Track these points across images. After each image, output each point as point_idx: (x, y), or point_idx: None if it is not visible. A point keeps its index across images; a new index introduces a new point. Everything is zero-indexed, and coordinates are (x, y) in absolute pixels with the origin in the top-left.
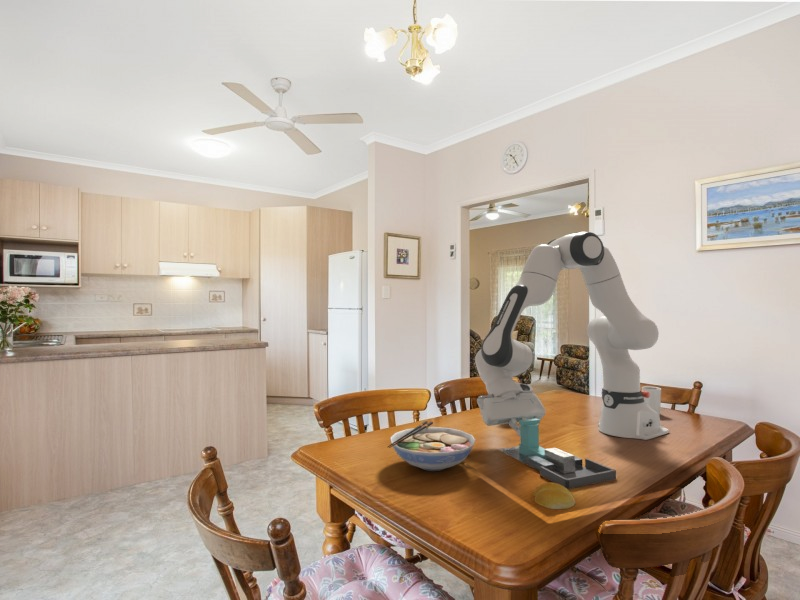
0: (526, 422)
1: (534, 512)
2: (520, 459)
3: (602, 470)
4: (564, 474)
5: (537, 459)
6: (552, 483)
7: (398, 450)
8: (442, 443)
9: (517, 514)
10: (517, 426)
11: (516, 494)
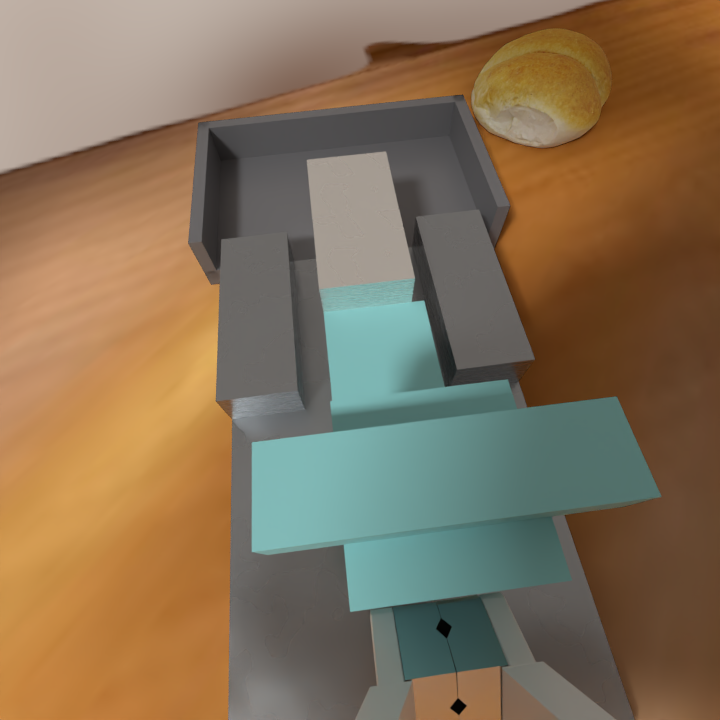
0: (527, 414)
1: (616, 84)
2: None
3: (213, 181)
4: None
5: (476, 285)
6: (550, 57)
7: None
8: None
9: (672, 84)
10: (559, 685)
11: (645, 168)
